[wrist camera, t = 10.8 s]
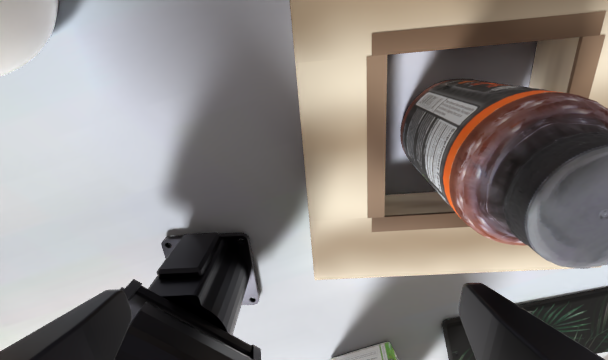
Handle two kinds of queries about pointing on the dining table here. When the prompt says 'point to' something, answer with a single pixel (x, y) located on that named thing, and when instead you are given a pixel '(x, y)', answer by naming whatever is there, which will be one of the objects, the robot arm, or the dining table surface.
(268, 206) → the dining table surface
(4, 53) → the lidded jar
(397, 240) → the maple socket board
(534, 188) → the supplement bottle
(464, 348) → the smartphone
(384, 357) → the syrup box
